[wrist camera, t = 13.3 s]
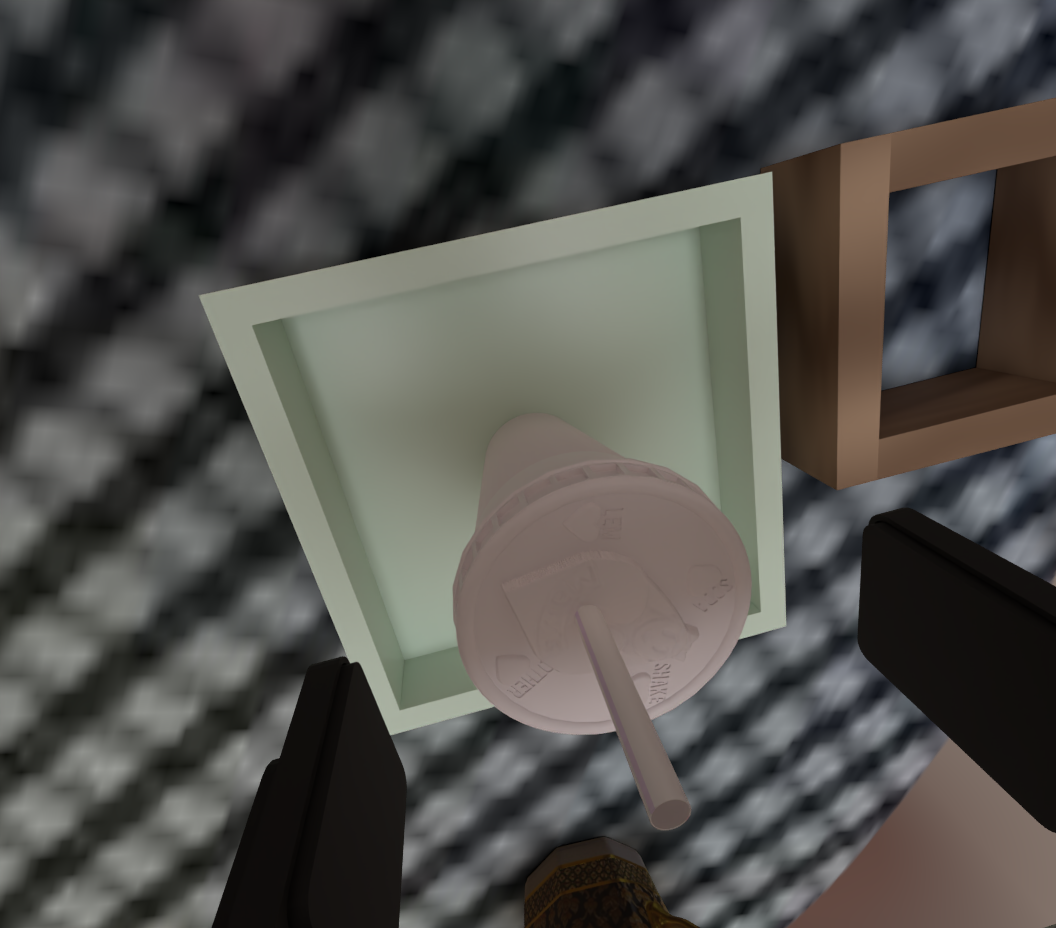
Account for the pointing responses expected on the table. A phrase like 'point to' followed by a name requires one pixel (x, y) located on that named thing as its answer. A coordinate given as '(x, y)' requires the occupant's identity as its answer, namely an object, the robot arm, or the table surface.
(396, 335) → the tray
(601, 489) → the smoothie
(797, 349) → the socket block
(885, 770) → the table surface
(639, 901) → the ceramic cup
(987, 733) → the robot arm
